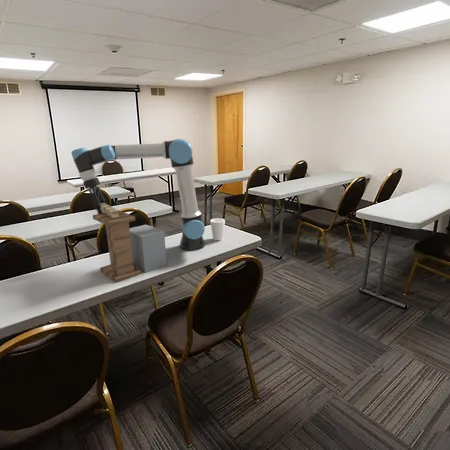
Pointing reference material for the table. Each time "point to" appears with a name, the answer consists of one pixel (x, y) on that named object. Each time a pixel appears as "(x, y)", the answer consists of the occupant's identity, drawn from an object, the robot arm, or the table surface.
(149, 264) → the grey block
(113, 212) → the notched tan bar
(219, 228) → the foam cup
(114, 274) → the walnut stand
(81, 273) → the table surface
